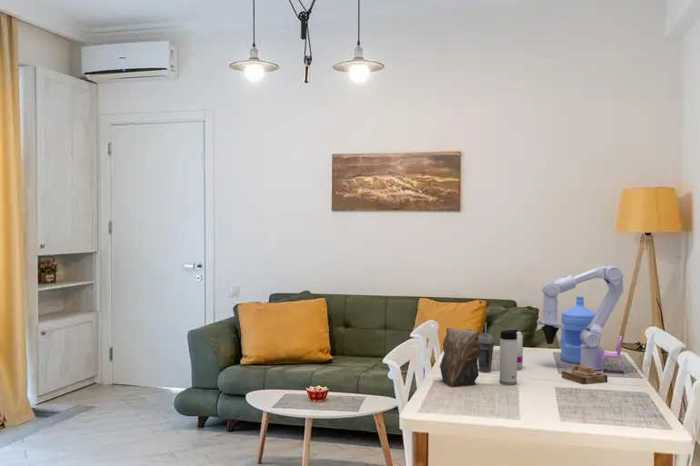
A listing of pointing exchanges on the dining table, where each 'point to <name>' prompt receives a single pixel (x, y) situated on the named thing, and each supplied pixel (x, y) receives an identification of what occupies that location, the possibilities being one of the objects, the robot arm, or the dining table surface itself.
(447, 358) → the brown rough lump
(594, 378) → the bay
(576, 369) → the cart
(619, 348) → the toy chair
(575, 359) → the water jug
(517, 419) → the dining table surface
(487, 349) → the beverage cup
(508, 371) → the travel mug
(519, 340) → the supplement can
